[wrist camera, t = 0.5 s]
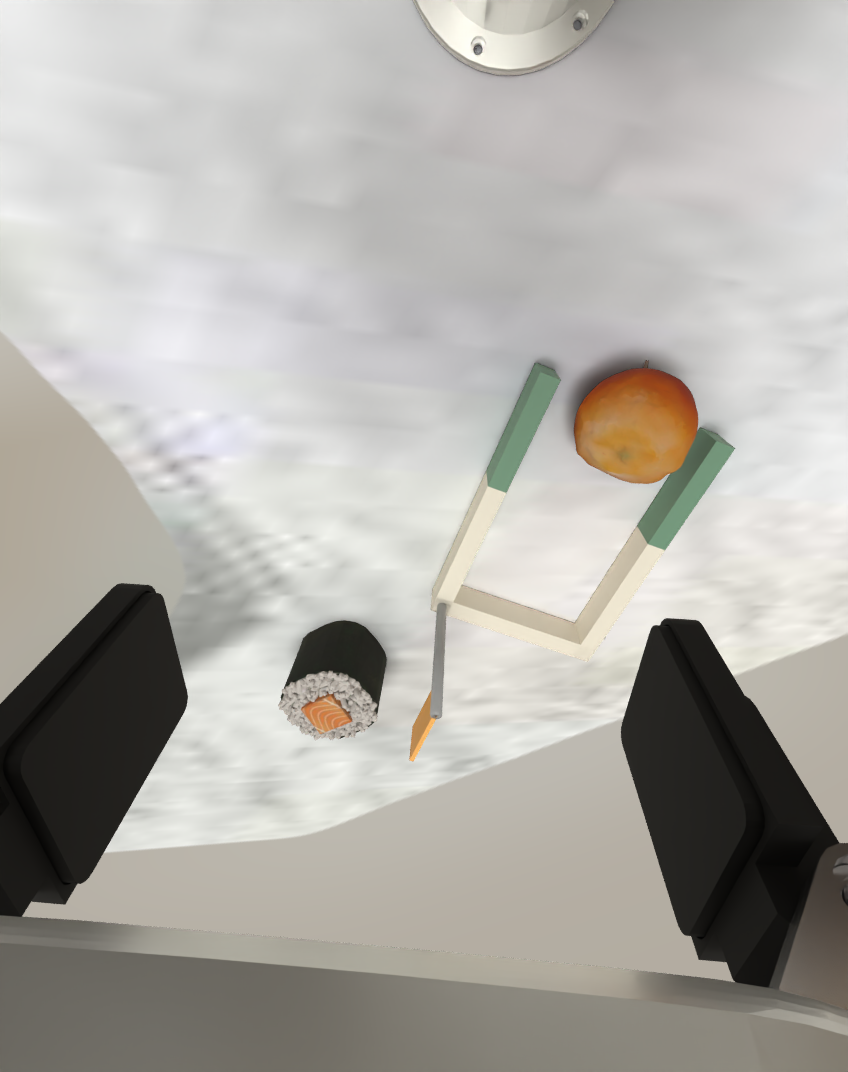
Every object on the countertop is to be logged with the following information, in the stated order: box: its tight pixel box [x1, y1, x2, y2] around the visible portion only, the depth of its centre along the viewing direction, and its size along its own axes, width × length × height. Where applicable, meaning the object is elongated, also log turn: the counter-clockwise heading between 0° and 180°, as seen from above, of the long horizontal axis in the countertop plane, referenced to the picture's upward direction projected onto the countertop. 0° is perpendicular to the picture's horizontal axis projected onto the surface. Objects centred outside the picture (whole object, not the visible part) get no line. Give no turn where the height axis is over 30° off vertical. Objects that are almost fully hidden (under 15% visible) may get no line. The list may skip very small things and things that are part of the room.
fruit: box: [574, 360, 698, 484], centre depth 38 cm, size 8×8×8 cm
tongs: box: [409, 363, 735, 761], centre depth 40 cm, size 26×15×15 cm, turn 160°
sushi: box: [278, 621, 387, 741], centre depth 51 cm, size 8×8×8 cm
